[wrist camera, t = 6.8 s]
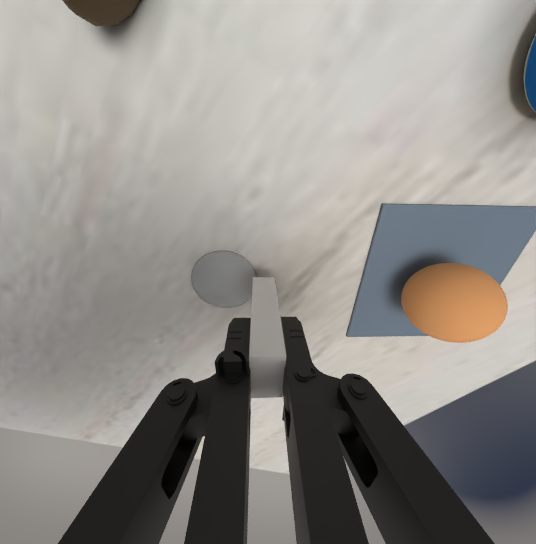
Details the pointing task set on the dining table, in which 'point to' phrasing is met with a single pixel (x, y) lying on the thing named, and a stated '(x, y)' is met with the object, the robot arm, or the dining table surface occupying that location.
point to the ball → (454, 302)
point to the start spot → (223, 279)
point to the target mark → (432, 255)
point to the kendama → (102, 10)
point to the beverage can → (530, 75)
